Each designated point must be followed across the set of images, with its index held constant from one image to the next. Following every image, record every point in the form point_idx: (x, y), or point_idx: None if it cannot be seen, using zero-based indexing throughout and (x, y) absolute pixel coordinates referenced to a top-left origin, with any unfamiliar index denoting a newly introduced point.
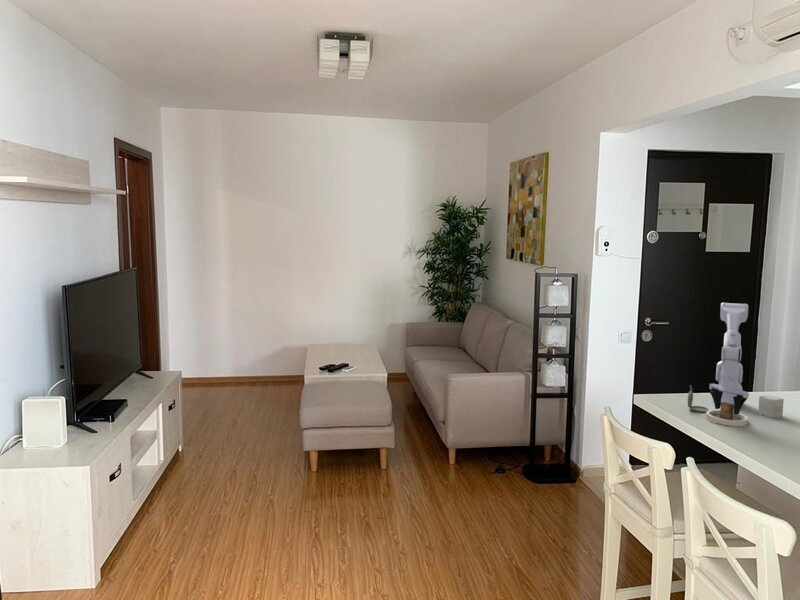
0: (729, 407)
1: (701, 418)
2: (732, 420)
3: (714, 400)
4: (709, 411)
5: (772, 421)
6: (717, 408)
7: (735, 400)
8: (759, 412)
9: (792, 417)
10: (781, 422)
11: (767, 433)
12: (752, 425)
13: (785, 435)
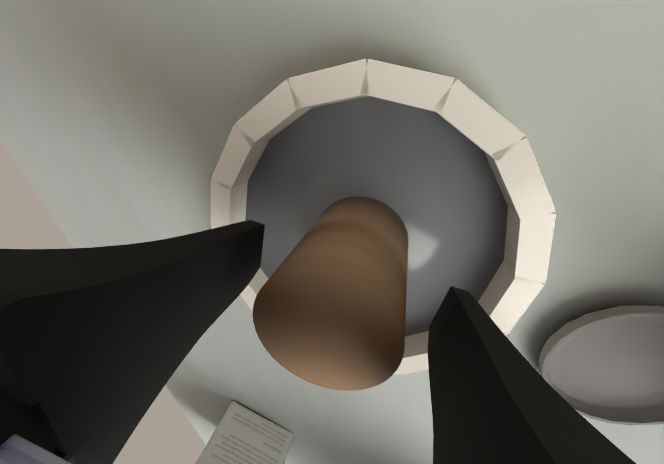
0: (286, 262)
1: (571, 123)
2: (256, 123)
3: (518, 366)
4: (521, 271)
5: (206, 360)
6: (446, 298)
7: (65, 270)
8: (284, 439)
9: (201, 435)
10: (182, 364)
11: (91, 135)
12: None
13: (50, 177)
